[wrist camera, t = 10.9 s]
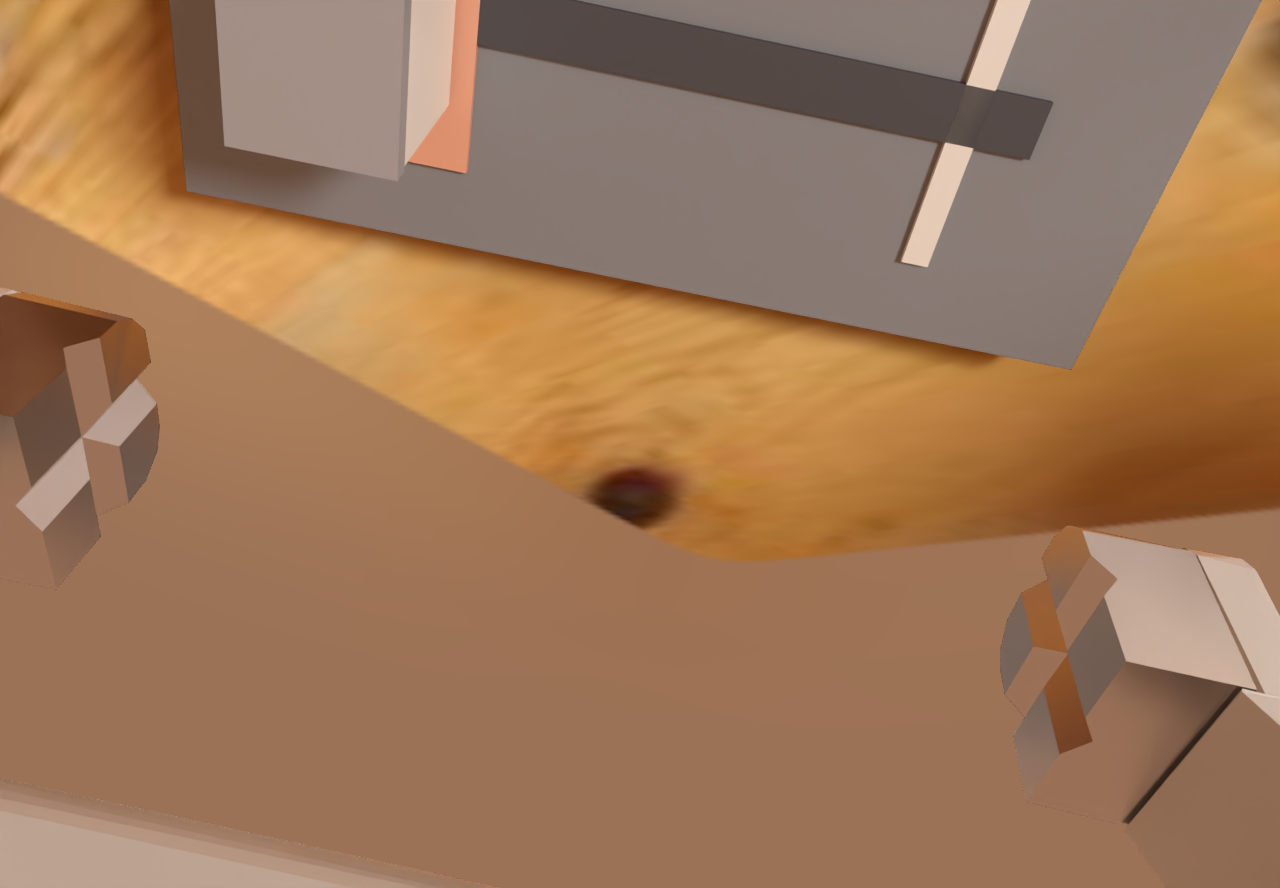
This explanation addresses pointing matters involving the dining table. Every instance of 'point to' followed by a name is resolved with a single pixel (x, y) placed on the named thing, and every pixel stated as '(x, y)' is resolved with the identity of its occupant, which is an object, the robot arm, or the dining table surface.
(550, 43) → the console board
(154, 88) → the dining table surface
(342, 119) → the fader knob
